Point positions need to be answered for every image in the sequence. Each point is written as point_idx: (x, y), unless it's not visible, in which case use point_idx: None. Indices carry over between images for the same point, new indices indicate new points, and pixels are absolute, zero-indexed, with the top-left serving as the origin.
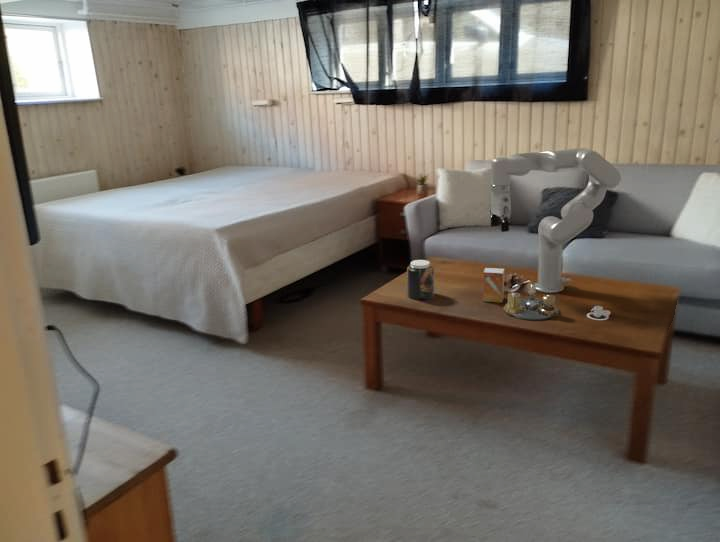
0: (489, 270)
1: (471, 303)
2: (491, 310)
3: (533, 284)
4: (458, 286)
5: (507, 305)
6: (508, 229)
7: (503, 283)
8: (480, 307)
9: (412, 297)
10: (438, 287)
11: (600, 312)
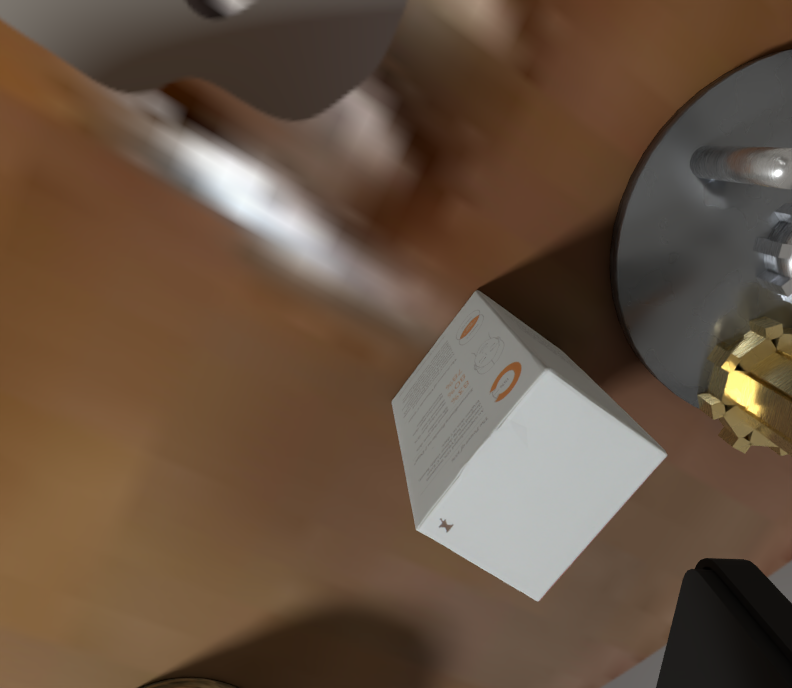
0: (523, 534)
1: None
2: None
3: (787, 157)
4: (100, 474)
5: (742, 421)
6: (770, 595)
7: (567, 365)
8: None
9: None
10: (70, 605)
11: None
